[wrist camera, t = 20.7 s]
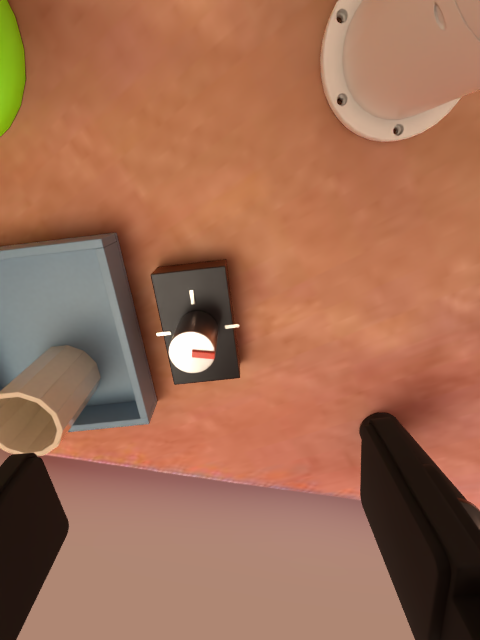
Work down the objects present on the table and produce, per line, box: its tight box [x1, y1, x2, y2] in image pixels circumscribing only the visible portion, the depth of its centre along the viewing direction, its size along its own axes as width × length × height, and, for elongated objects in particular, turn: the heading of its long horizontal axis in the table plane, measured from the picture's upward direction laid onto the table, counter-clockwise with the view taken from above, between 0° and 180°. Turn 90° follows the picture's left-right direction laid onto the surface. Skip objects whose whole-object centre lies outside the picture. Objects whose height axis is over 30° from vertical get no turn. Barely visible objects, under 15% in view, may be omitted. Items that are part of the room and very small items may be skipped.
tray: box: [0, 233, 157, 432], centre depth 35 cm, size 20×18×4 cm
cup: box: [0, 345, 101, 456], centre depth 34 cm, size 7×7×9 cm
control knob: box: [168, 311, 218, 373], centre depth 31 cm, size 4×4×5 cm
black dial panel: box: [151, 260, 240, 385], centre depth 35 cm, size 12×8×3 cm
